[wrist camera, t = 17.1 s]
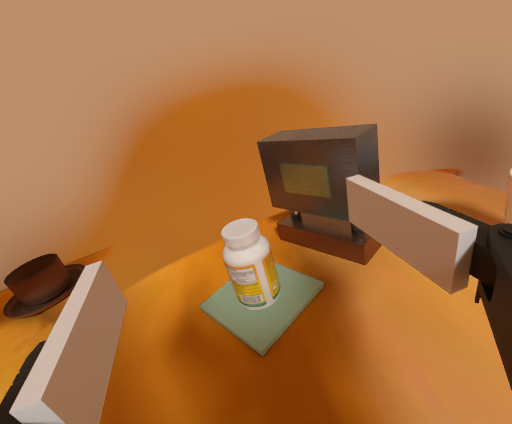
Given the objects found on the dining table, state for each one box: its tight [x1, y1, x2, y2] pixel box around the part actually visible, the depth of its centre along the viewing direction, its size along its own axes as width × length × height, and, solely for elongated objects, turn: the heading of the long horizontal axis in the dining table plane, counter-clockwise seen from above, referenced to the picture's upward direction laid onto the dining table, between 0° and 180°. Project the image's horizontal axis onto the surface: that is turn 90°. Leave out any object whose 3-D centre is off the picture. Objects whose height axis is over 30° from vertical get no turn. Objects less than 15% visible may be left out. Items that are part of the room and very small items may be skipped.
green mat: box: [199, 263, 324, 357], centre depth 33 cm, size 11×11×1 cm
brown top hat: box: [3, 254, 85, 319], centre depth 44 cm, size 12×12×6 cm
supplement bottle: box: [221, 218, 281, 310], centre depth 30 cm, size 5×5×10 cm
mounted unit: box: [257, 124, 382, 265], centre depth 36 cm, size 14×5×16 cm, turn 46°
